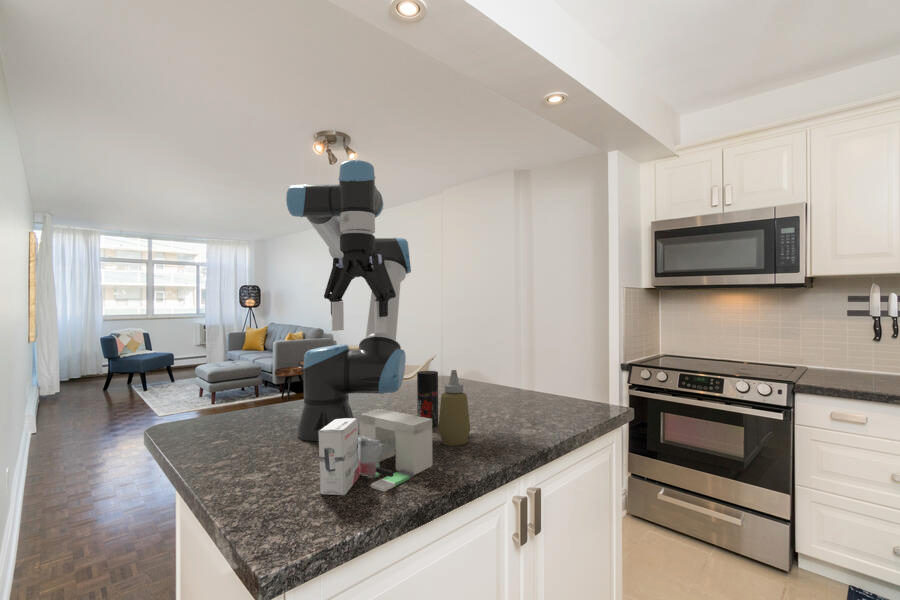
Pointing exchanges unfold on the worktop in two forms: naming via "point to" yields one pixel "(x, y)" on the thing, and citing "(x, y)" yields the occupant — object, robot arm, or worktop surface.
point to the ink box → (338, 456)
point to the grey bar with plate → (373, 455)
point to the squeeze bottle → (454, 413)
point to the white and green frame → (400, 443)
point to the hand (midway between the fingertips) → (358, 331)
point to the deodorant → (427, 395)
